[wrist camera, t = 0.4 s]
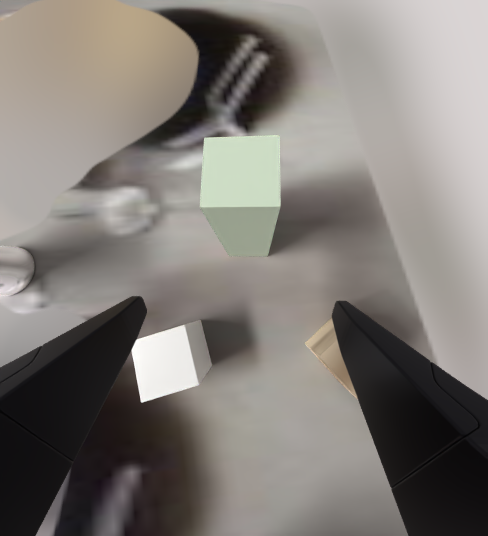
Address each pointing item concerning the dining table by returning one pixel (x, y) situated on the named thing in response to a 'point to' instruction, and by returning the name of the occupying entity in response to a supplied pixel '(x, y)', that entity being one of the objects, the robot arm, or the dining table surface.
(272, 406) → the dining table surface
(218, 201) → the sage block
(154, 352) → the white cube
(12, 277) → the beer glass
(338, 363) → the oak cube
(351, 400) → the dining table surface
